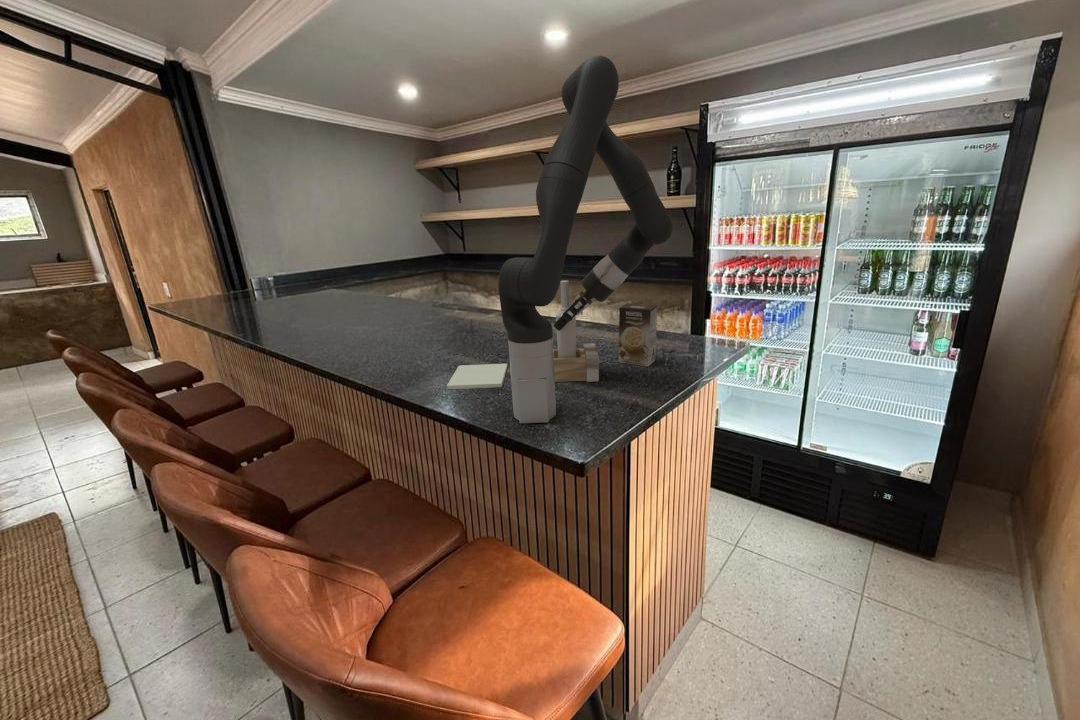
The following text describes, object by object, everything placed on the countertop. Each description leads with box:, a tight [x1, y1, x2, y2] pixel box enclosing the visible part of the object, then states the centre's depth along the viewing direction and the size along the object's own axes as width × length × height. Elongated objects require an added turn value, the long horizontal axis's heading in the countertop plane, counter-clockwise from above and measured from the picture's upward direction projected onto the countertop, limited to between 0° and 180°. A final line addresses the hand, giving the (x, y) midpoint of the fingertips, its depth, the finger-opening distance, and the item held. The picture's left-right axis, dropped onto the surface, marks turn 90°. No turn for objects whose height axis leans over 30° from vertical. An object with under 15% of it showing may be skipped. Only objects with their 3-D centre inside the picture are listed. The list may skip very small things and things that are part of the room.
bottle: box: [555, 280, 577, 358], centre depth 116 cm, size 5×5×25 cm
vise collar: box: [553, 342, 600, 383], centre depth 119 cm, size 12×15×7 cm
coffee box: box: [618, 302, 658, 367], centre depth 125 cm, size 9×6×16 cm
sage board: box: [446, 363, 508, 390], centre depth 121 cm, size 16×14×1 cm
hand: (559, 325), depth 116 cm, fingers closed on bottle, 5 cm apart
